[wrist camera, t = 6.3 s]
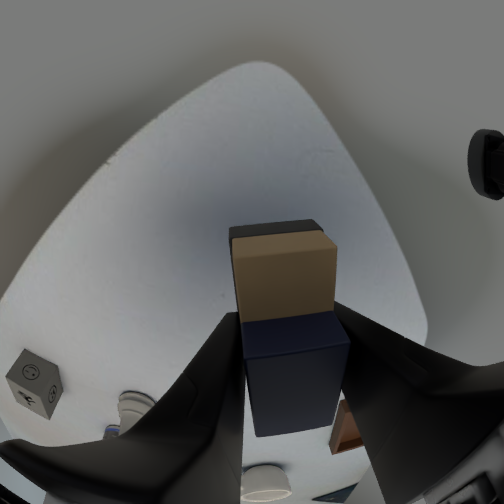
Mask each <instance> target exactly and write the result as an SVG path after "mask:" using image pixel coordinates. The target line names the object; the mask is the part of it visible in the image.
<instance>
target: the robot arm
mask: <svg viewBox="0 0 504 504" xmlns="http://www.w3.org/2000/svg"><path fill="white" fill-rule="evenodd" d="M484 144H485V174H484V193H485V194H488V195H504V139H503V138H500V137H497V136H493V135H490V134H485V136H484ZM333 311H334V313H335V315H336V316H337V318H338V320H339V322H340V323H341V325H342V327H343V329H344V330H345V332H346V334H347V336H348V337H349V339H350V341H351V344H350V350H349V355H348V360H347V365H346V370H345V375H344V379H343V384H342V388H341V389H342V392H343V394H344V396H345V399H346V401H347V404H348V406H349V409H350V411H351V414H352V416H353V419H354V421H355V424H356V426H357V429H358V431H359V434H360V436H361V439H362V441H363V444H364V446H365V449H366V451H367V454H368V457H369V459H370V462H371V465H372V467H373V470H374V472H375V475H376V478H377V481H378V483H379V486H380V489H381V491H382V494H383V497H384V500H385V503H386V504H412V503H414V502H416V501H418V500H420V499H422V498H424V499H425V502H426V504H504V361H503V362H500V363H496V364H492V365H488V366H472V365H469V364H466V363H463V362H461V361H458V360H455V359H453V358H450V357H448V356H445V355H443V354H440V353H438V352H435V351H433V350H431V349H428V348H426V347H424V346H422V345H420V344H418V343H416V342H414V341H412V340H410V339H408V338H404V336H402V335H400V334H398V333H396V332H394V331H392V330H390V329H388V328H386V327H384V326H382V325H380V324H378V323H377V322H375V321H373V320H371V319H369V318H367V317H365V316H363V315H361V314H359V313H357V312H355V311H353V310H351V309H350V308H348V307H346V306H344V305H342V304H340V303H338V302H336V301H334V309H333ZM245 382H246V373H245V366H244V359H243V347H242V333H241V323H240V316H239V313H238V312H230V313H226V315H225V316H224V317H223V319H222V320H221V321H220V323H219V324H218V325H217V327H216V328H215V329H214V331H213V332H212V334H211V335H210V336H209V338H208V339H207V340H206V342H205V343H204V344H203V346H202V347H201V348H200V350H199V351H198V352H197V354H196V355H195V356H194V358H193V359H192V360H191V362H190V363H189V364H188V366H187V367H186V368H185V370H184V371H183V373H181V375H180V376H179V377H178V379H177V380H176V381H175V383H174V384H173V385H172V386H171V387H170V389H169V390H168V391H167V392H166V393H165V394H164V395H163V396H162V397H161V399H160V400H159V401H158V402H157V403H156V404H155V405H154V406H153V407H152V408H151V409H150V410H149V411H148V412H147V413H146V414H145V415H144V416H143V417H141V418H140V419H139V420H138V421H137V422H136V423H135V424H134V425H133V426H132V427H131V428H130V429H129V430H127V431H126V432H124V433H123V434H121V435H119V436H117V437H114V438H110V439H105V440H99V441H94V442H88V443H82V444H75V445H68V446H59V447H45V446H38V445H35V444H32V443H30V442H28V441H25V440H23V439H13V440H8V441H4V442H2V443H0V457H1V458H2V459H3V460H4V461H5V462H7V463H8V464H9V465H10V466H11V467H13V468H14V469H15V470H16V471H18V472H19V473H20V474H22V475H23V476H24V477H26V478H27V479H29V480H30V481H31V482H33V483H34V484H36V485H37V486H38V487H40V488H41V489H43V490H45V491H46V495H45V500H44V503H43V504H240V496H241V488H240V487H241V472H242V449H243V427H244V404H245ZM0 504H30V503H28V502H27V501H25V500H23V499H22V498H20V497H19V496H17V495H16V494H14V493H12V492H11V491H10V490H8V489H7V488H6V487H4V486H3V485H1V484H0Z"/></svg>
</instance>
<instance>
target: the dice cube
mask: <svg viewBox="0 0 504 504" xmlns="http://www.w3.org/2000/svg"><path fill="white" fill-rule="evenodd" d="M5 377H6V380H7V382H8V384H9V386H10V389H11V391H12V393H13V395H14V397H15V399H16V401H17V402H18V403H20V404H21V405H23V406H25V407H26V408H28V409H30V410H31V411H33V412H35V413H37V414H39V415H40V416H42V417H44V418H46V419H48V420H50V418H51V416H52V414H53V412H54V409H55V407H56V405H57V403H58V401H59V399H60V397H61V395H62V393H63V388H62V384H61V380H60V376H59V371H58V367H57V366H56V365H54V364H52V363H50V362H48V361H46V360H44V359H42V358H40V357H38V356H36V355H34V354H33V353H31V352H29V351H27V350H25V349H24V350H23V352H22V353H21V355H20V356H19V357H18V359H17V360H16V362H15V363H14V364H13V366H12V367H11V369H10V370H9V372H8V373H7V375H6V376H5Z"/></svg>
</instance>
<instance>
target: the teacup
mask: <svg viewBox="0 0 504 504" xmlns="http://www.w3.org/2000/svg"><path fill="white" fill-rule="evenodd" d="M240 488H241V496H240V499H242V500H245V501H251V502H264V501H273V500H278V499H282V498H285V497H287V496H289V495H291V493H292V492H291V487H290V484H289V480H288V477H287V475H286V474H285V472H284V471H283V470H282V469H280V468H278V467H275V466H272V465H261V466H256V467H252V468H250V469H249V470H247V471H246V472H245V473H244V474H243V475H241V487H240Z"/></svg>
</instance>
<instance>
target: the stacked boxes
mask: <svg viewBox="0 0 504 504" xmlns="http://www.w3.org/2000/svg"><path fill="white" fill-rule="evenodd" d="M323 232H324V231H323V229H322V228H321V227H320V226H319V225H318V224H317V223H316V222H315V221H314V220H312V219H308V220H296V221H285V222H274V223H263V224H253V225H243V226H234V227H230V228H229V246H230V255H231V263H232V271H233V279H234V287H235V295H236V303H237V310H238V313H239V316H240V323H241V333H242V347H243V359H244V366H245V373H246V379H247V386H248V392H249V399H250V405H251V411H252V417H253V424H254V430H255V435H256V437H266V436H274V435H281V434H288V433H294V432H300V431H305V430H310V429H315V428H320V427H325V426H329V425H332V423H333V420H334V416H335V412H336V408H337V405H338V401H339V396H340V392H341V388H342V384H343V379H344V375H345V370H346V365H347V360H348V355H349V350H350V344H351V341H350V339H349V337H348V336H347V334H346V332H345V330H344V329H343V327H342V325H341V323H340V322H339V320H338V318H337V316H336V315H335V313H334V311H333V309H334V297H335V283H336V266H337V246H336V245H335V244H334V243H333V242H332V241H331V240H330V239H329V238H328V237H327V236H326V235H325V234H324V233H323Z"/></svg>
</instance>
